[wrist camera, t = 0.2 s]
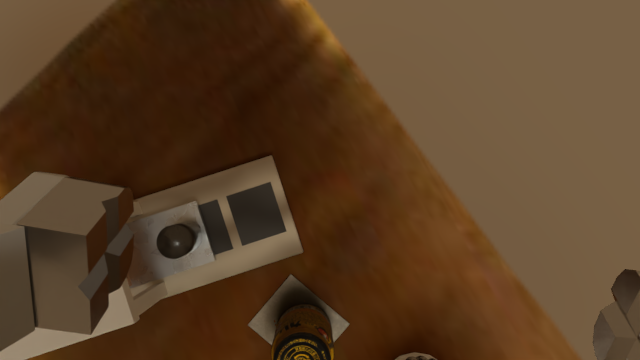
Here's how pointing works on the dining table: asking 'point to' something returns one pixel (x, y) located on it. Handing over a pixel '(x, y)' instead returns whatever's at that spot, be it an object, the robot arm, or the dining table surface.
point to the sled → (169, 244)
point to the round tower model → (415, 356)
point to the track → (231, 222)
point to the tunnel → (116, 316)
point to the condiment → (298, 324)
